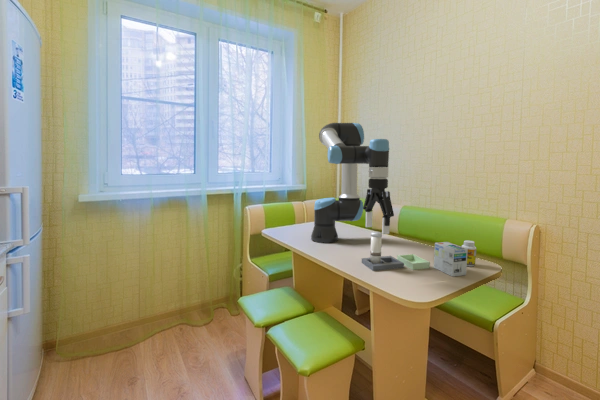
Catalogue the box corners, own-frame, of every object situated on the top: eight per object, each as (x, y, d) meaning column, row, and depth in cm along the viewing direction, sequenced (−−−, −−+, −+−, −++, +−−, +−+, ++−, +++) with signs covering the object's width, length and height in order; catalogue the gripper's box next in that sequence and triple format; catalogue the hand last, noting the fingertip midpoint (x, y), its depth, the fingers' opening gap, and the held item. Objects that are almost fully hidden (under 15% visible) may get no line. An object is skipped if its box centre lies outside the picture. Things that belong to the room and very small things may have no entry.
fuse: (368, 264, 125) (368, 232, 123) (377, 263, 126) (378, 231, 124) (373, 268, 121) (374, 234, 119) (382, 267, 122) (384, 233, 120)
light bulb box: (466, 275, 114) (468, 248, 113) (452, 277, 112) (454, 249, 111) (445, 266, 124) (447, 241, 123) (432, 267, 123) (434, 242, 121)
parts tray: (396, 262, 129) (397, 255, 129) (412, 260, 131) (413, 254, 131) (412, 270, 119) (412, 263, 118) (429, 269, 121) (429, 262, 120)
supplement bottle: (457, 264, 126) (459, 241, 125) (463, 261, 130) (464, 238, 129) (472, 267, 122) (474, 243, 121) (477, 264, 126) (478, 241, 124)
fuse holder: (361, 263, 127) (361, 258, 127) (390, 260, 131) (390, 255, 130) (372, 272, 118) (373, 266, 117) (403, 268, 121) (404, 263, 121)
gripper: (356, 177, 130) (355, 224, 132) (386, 179, 106) (384, 237, 108) (371, 177, 131) (370, 223, 134) (405, 179, 108) (402, 236, 110)
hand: (376, 230), depth 121 cm, fingers open, 13 cm apart
